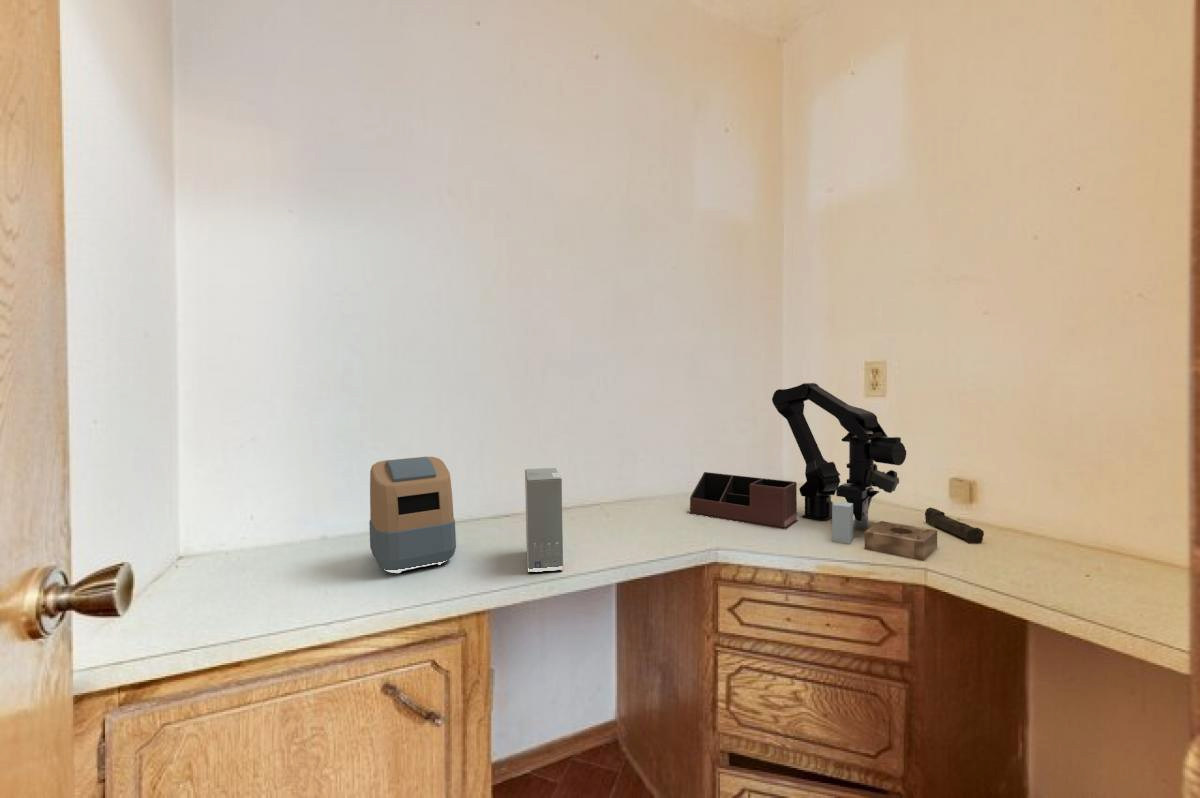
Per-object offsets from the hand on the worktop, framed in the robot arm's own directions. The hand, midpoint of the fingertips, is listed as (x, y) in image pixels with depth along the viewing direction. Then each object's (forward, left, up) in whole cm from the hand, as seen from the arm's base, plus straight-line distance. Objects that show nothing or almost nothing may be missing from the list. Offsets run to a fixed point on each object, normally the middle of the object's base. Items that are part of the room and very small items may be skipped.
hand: (861, 519), depth 138 cm
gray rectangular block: (0, -13, -2) cm, 13 cm away
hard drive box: (-44, -71, -3) cm, 84 cm away
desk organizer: (-29, -10, -3) cm, 31 cm away
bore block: (+12, -10, -2) cm, 16 cm away
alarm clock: (-66, -91, -3) cm, 112 cm away
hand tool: (+17, +11, -3) cm, 21 cm away
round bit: (0, 0, -2) cm, 2 cm away
